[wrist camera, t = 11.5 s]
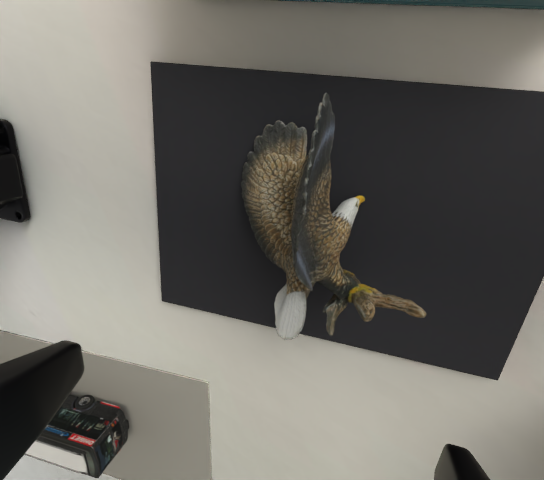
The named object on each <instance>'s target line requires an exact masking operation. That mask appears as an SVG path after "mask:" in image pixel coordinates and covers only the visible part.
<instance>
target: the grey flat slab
mask: <svg viewBox="0 0 544 480" xmlns="http://www.w3.org/2000/svg"><path fill="white" fill-rule="evenodd" d="M50 345H53V344H52V343H48V342H44V341H40V340H36V339H32V338H28V337H24V336H20V335H16V334H12V333H8V332H4V331H0V364H2V363H4V362H7V361H10V360H12V359H15V358H18V357H20V356H23V355H26V354H28V353H31V352H34V351H36V350H39V349H42V348H45V347H47V346H50ZM82 355H83V361H84V373H83V375H82V377H81V379H80V380H79V382H78V383H77V384H76V386H75V387H74V389H73V390H72V391H71V393H70V394H69V396H68V397H67V399H66V400H65V401H64V403H63V404H62V406H61V407H60V408H59V410H58V411H57V413H56V414H55V416H54V417H53V418H52V420H51V421H50V423H49V424H48V425H47V427H46V428H45V429H44V431H43V432H42V433H41V434H40V436H39V437H38V438H37V439H36V441H35V442H34V443H33V444H32V445H31V447H30V448H29V449H28V450H27V451H26V453H25V454H24V455H27V456H30V457H33V458H36V459H39V460H42V461H45V462H48V463H51V464H54V465H56V466H59V467H62V468H65V469H68V470H71V471H74V472H77V473H81V474H85V475H89V476H92V477H95V478H99V477H100V475H101V474H102V473H103V474H106V475H109V476H112V477H115V478H118V479H121V480H212V479H211V447H210V415H209V384H208V382H205V381H201V380H197V379H193V378H189V377H185V376H181V375H177V374H173V373H169V372H165V371H161V370H157V369H153V368H149V367H145V366H141V365H136V364H132V363H128V362H124V361H120V360H116V359H112V358H108V357H104V356H100V355H96V354H92V353H88V352H84V351H82Z"/></svg>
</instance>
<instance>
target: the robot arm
mask: <svg viewBox="0 0 544 480" xmlns="http://www.w3.org/2000/svg"><path fill="white" fill-rule="evenodd" d="M0 218H1V219H6V220H11V221H15V222H25V221H28V220H29V219H30V212H29V207H28V202H27V197H26V192H25V187H24V182H23V177H22V172H21V167H20V162H19V157H18V152H17V147H16V142H15V137H14V132H13V128H12V125H11V124H10V122H8V121H7V120H4V119H0ZM83 373H84V361H83V355H82V350H81V346H80V345H79V344H78V343H74V342H71V341H61V342H58V343H55V344H53V345H50V346H47V347H45V348H42V349H39V350H36V351H34V352H31V353H28V354H26V355H23V356H20V357H18V358H15V359H12V360H10V361H7V362H4V363H2V364H0V480H3V479H4V478H5V477H6V475H7V474H8V473H9V472H10V471H11V469H12V468H13V467H14V466H15V465H16V463H17V462H18V461H19V460H20V459H21V457H22V456H23V455H24V454H25V453H26V451H27V450H28V449H29V448H30V447H31V445H32V444H33V443H34V442H35V441H36V439H37V438H38V437H39V436H40V434H41V433H42V432H43V431H44V429H45V428H46V427H47V425H48V424H49V423H50V421H51V420H52V418H53V417H54V416H55V414H56V413H57V411H58V410H59V408H60V407H61V406H62V404H63V403H64V401H65V400H66V399H67V397H68V396H69V394H70V393H71V391H72V390H73V389H74V387H75V386H76V384H77V383H78V382H79V380H80V379H81V377H82V375H83ZM434 480H490V479H489V477H488V476H487V474H486V473H485V472H484V470H483V469H482V468H481V466H480V465H479V463H478V462H477V461H476V459H475V458H474V457H473V455H472V454H471V453H470V452H469V451H468V450H467V449H465V448H462V447H459V446H455V445H451V444H447V445H445V446H444V448H443V451H442V453H441V456H440V458H439V461H438V464H437V466H436V469H435V475H434Z"/></svg>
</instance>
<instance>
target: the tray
mask: <svg viewBox="0 0 544 480" xmlns="http://www.w3.org/2000/svg"><path fill="white" fill-rule="evenodd" d="M280 1H311V2H341V3H371V4H402V5H432V6H462V7H493V8H523V9H544V0H280Z"/></svg>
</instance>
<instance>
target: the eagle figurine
mask: <svg viewBox="0 0 544 480" xmlns="http://www.w3.org/2000/svg"><path fill="white" fill-rule="evenodd" d="M334 130H335V115H334V113H333V111H332V107H331V102H330V100H329V95H328V93H325V94H324V96H323V99H322V103H320V104H319V106H318V111H317V116H316V119H315V131H313V133H312V138H311V149H310V151H309V153H308V155H307V157H306V147H307V130H306V128H305V127H300V128H298V127H297V126H296V125H295V123H293V122H290V123H288V124H287V125H285V124H284V123H283V122H282V121H279V120H278V121H276V122H275V124H274V125H271V124H268V125H266V126H265V128H264V131H263V134H262V136H260V135H259V136H257V137H256V138H255V141H254V152H251V151H250V152H249V153H248V155H247V156H248V161H247V162H246V163H245V164H244V166H243V172H242V179H243V180H242V182H241V187H242V193H241V194H242V198H243V200H244V206H245V208H246V213H247V215H248V216H249V221H250V224H251V228H252V230H253V232H254V233H255V238H256V240H257V242H258V244H259V245H260V247H261V249H262V251H263V252H264V253H265V254H266V257H267V258H268V259H269V260H271V262H272V263H273V264H277V266H278V267H280V268H283V270H284V272H285V273H286V277H287V282H286V285H285V286H284V287H283V288H282V289H281V290H280V291H279V292H278V293H277V296H276V299H275V303H274V308H275V318H276V321H275V325H276V328H277V333H278V336H280V337H282V338H283V339H284V340H289V339H293V338H294V337H297V336H298V335H299V333H300V332H301V330H302V328H303V326H304V322H305V317H306V309H307V303H306V299H307V297H308V295H309V293H310V290H311V291H312V290H313V288H312V287H313V286H314V284H315V283H316V282H318V283H319V284H320V285H322V286H325V287H326V288H327V289H329V290H330V292H333V293H334V294H333V296H332V298H331V299H330V300H329V301H328V303H327V304H326V305H325V306H324V309H323V312H324V313H327V323H326V330H327V332H328V334H329V335H330V336H332V335H333V333H334V326H335V321H336V319H337V317H338V315H339V314H340V313H341V312H342V311H343V310H344V309H345V308H346V307H347V304H348V302H349V303H354V305H355V307H356V309H357V311H358V313H359V315H360V316H361V318H362V319H363V321H364V322H368V321H371V320H372V318H373V317H374V314H375V307H382V308H389V309H396V310H401V311H404V312H406V313H407V314H409V315H411V316H414V317H418V318H424V317H425V316H426V312H425V311H424V310H423V309H422V308H421V307H419V306H418V305H417V304H416V303H414V302H413V301H411V300H408V299H403V298H401V297H397V296H394V295H389V294H387V295H386V294H382V293H381V292H380V291H378V290H376V289H375V288H371V287H369V286H367V285H364V284H361V283H360V281H359V280H358V279H357V278H356V276H355V275H354V274H353V273H351V272H349V271H347V270H344V269H342V268H341V266H340V262H339V257H340V252H341V251H342V250H343V249H344V247H345V245H346V243H347V241H348V238H349V235H350V231H351V228H352V225H353V222H354V219H355V216H356V214H357V212H358V208H359V205H360V204H361V203H362V202H364V201H365V198H364V197H363V196H356V197H354V198H350V199H347V200H345V201H343V202H342V203H341V204H340V205H339V206H338V208H337V209H336V210H335V211H334V212H333V214H332V213H331V210H330V203H329V193H330V185H331V163H330V154H331V149H332V144H333V139H334Z"/></svg>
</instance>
